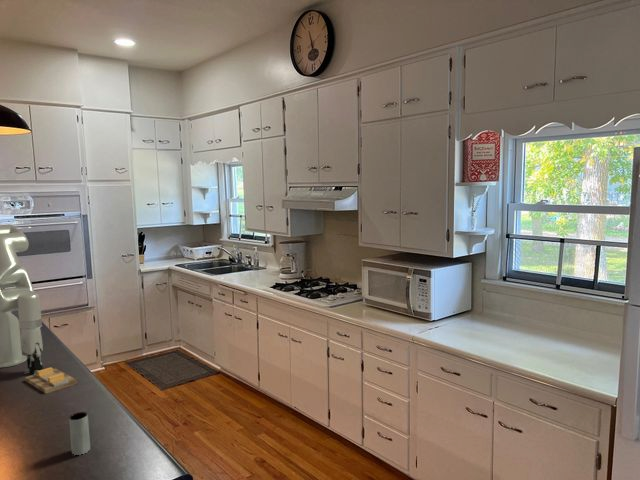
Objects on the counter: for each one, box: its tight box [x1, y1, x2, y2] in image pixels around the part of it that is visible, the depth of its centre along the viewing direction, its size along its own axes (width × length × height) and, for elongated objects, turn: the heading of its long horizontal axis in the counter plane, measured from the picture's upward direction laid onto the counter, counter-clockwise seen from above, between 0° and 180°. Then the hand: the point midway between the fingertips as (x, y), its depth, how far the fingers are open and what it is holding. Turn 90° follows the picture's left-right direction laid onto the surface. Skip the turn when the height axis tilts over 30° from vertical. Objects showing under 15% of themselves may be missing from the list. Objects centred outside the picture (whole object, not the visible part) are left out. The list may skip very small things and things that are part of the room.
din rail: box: [33, 372, 69, 387], centre depth 178 cm, size 19×5×1 cm, turn 51°
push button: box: [24, 351, 44, 375], centre depth 187 cm, size 7×5×10 cm
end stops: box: [37, 367, 64, 382], centre depth 178 cm, size 12×5×2 cm, turn 51°
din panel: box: [24, 368, 78, 394], centre depth 178 cm, size 19×11×2 cm, turn 51°
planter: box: [68, 411, 91, 456], centre depth 129 cm, size 4×4×10 cm
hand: (34, 368), depth 188 cm, fingers closed on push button, 3 cm apart
